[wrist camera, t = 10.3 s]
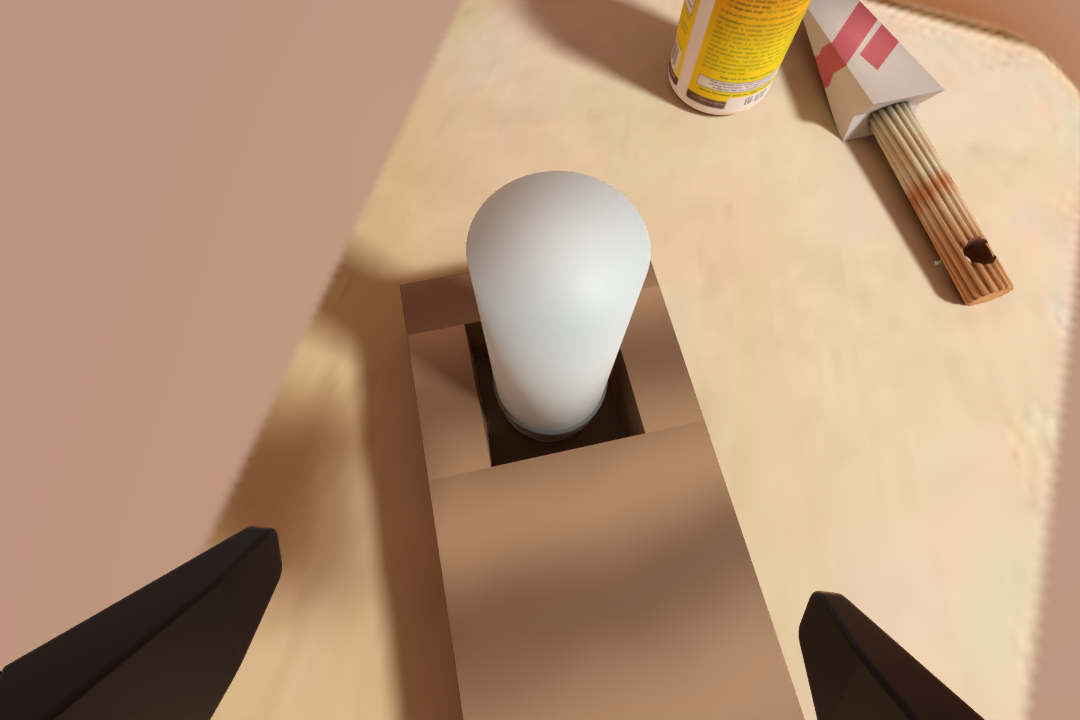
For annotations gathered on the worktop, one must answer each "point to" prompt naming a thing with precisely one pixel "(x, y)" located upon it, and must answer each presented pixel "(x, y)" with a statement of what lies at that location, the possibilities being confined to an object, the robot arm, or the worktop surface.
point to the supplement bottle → (731, 51)
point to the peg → (555, 294)
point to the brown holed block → (590, 543)
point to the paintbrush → (900, 133)
